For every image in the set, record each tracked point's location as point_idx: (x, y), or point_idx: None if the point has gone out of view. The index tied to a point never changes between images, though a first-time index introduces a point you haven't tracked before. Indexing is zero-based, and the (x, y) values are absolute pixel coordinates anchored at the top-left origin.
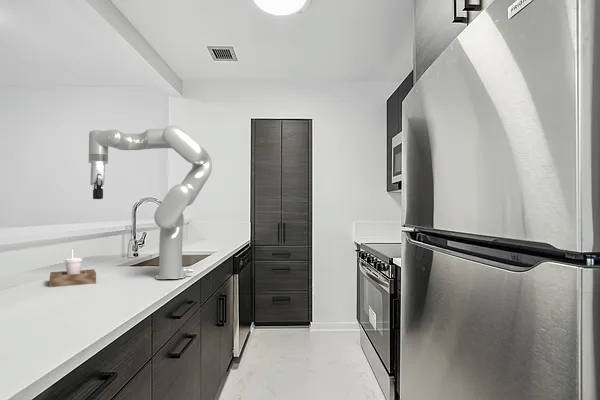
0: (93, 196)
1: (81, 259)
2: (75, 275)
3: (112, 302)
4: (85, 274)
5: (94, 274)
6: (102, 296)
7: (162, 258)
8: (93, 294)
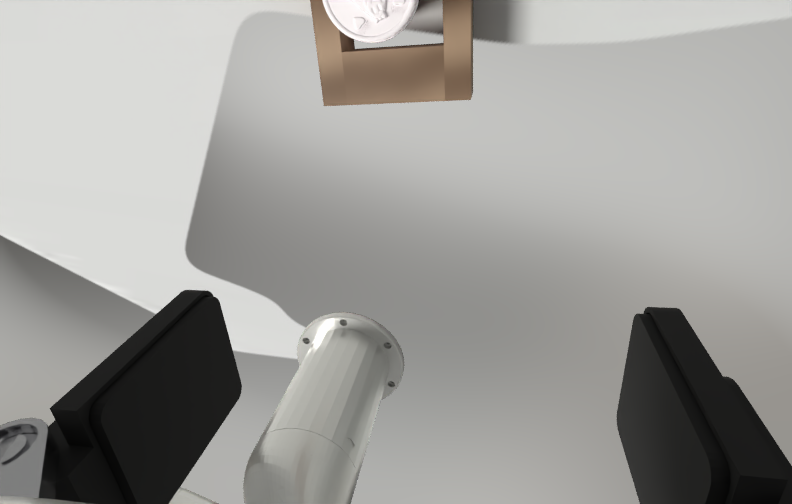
0: (648, 341)
1: (353, 36)
2: (312, 6)
3: (3, 137)
4: (318, 56)
5: (324, 98)
6: (84, 113)
7: (298, 380)
8: (118, 85)
